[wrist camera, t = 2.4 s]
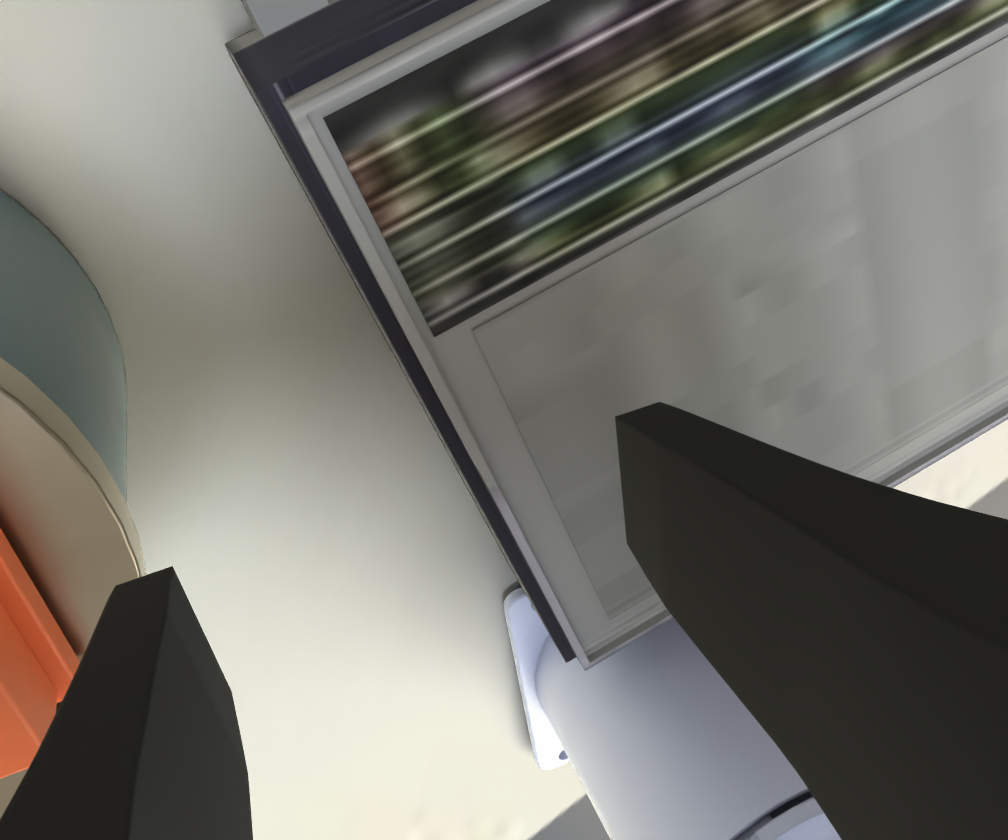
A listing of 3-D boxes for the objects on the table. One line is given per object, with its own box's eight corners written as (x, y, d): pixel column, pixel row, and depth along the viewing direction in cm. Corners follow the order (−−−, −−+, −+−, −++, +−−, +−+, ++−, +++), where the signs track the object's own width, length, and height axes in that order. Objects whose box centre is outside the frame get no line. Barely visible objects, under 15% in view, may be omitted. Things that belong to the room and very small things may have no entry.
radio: (597, 717, 21) (68, -254, 10) (519, 582, 26) (87, -204, 14) (1384, 243, 24) (1705, -1010, 12) (1190, 192, 28) (1289, -767, 16)
